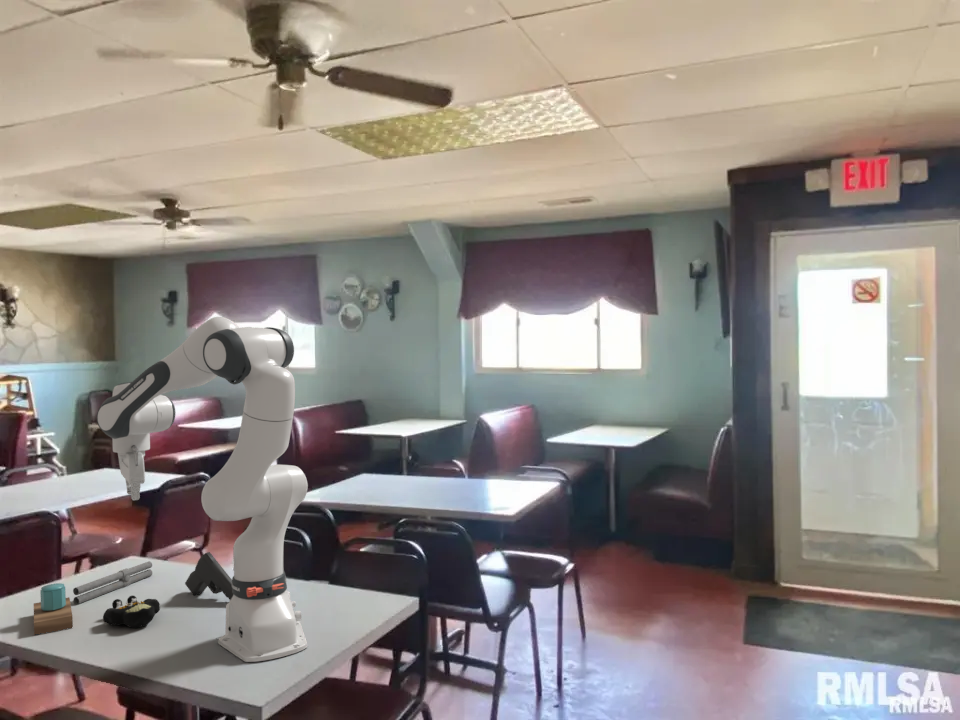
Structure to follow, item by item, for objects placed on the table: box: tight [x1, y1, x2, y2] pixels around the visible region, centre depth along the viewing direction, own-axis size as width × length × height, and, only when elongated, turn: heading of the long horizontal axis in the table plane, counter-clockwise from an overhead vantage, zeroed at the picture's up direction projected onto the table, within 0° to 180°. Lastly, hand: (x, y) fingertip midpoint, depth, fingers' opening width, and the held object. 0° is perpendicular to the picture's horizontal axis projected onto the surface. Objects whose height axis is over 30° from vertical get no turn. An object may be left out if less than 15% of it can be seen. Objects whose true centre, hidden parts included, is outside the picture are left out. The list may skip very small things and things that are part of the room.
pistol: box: [184, 551, 233, 601], centre depth 198 cm, size 18×4×13 cm
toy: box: [102, 595, 161, 629], centre depth 181 cm, size 12×8×15 cm
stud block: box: [33, 597, 74, 636], centre depth 183 cm, size 16×8×8 cm, turn 32°
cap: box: [40, 582, 67, 611], centre depth 184 cm, size 5×5×5 cm
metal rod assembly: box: [72, 560, 153, 605], centre depth 207 cm, size 26×3×5 cm, turn 159°
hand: (133, 496), depth 191 cm, fingers open, 8 cm apart
